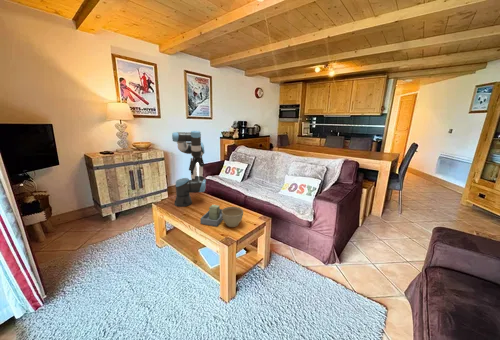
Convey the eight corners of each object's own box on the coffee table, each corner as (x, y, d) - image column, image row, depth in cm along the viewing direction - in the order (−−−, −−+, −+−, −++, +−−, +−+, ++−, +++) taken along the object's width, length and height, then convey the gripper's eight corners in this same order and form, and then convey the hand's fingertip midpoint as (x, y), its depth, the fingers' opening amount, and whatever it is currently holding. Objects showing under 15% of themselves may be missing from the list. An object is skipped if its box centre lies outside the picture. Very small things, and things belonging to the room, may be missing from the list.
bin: (212, 212, 170) (212, 207, 169) (227, 215, 167) (227, 210, 166) (200, 223, 152) (200, 218, 151) (217, 226, 149) (217, 221, 147)
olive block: (212, 216, 163) (212, 204, 160) (219, 217, 161) (219, 205, 159) (209, 219, 157) (209, 207, 155) (216, 220, 156) (216, 208, 153)
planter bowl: (235, 232, 142) (235, 218, 140) (217, 225, 150) (217, 212, 147) (247, 222, 156) (247, 209, 153) (229, 217, 164) (229, 204, 161)
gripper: (192, 153, 148) (193, 180, 154) (207, 148, 172) (208, 172, 177) (183, 152, 150) (184, 179, 156) (199, 148, 174) (200, 171, 179)
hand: (197, 176), depth 166 cm, fingers open, 13 cm apart
